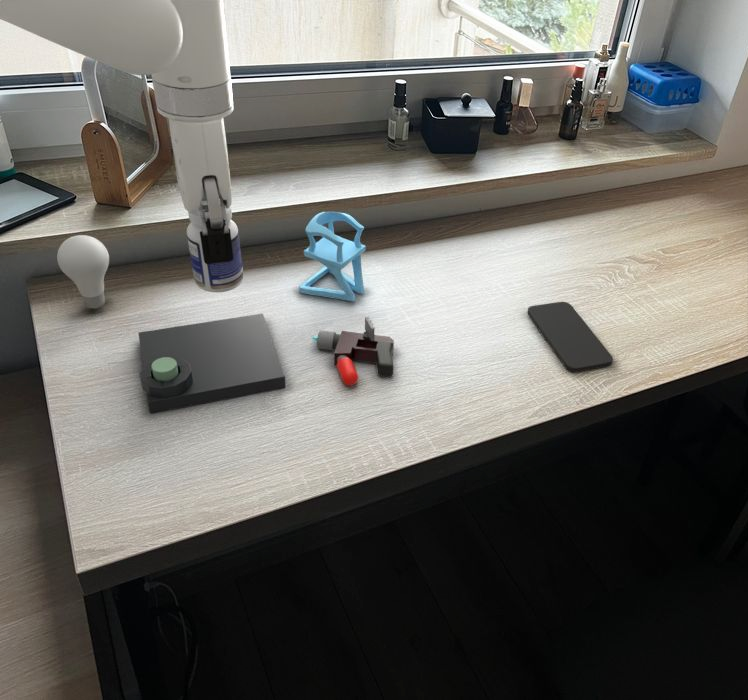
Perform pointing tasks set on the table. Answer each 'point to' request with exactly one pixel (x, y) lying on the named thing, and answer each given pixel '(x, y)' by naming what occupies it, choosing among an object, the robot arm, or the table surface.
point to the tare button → (164, 369)
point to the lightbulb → (85, 267)
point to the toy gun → (358, 351)
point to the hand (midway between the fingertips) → (214, 246)
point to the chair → (334, 256)
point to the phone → (569, 336)
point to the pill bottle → (216, 274)
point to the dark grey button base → (210, 362)
